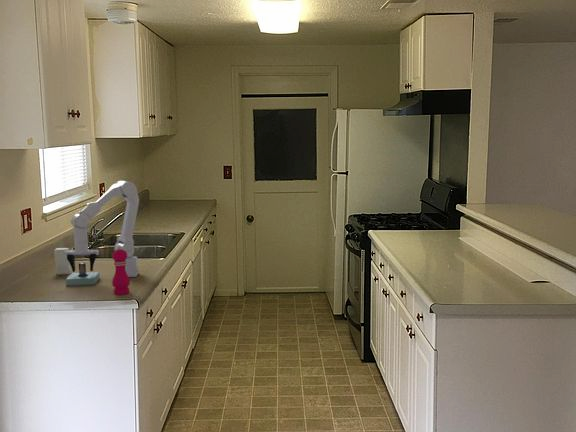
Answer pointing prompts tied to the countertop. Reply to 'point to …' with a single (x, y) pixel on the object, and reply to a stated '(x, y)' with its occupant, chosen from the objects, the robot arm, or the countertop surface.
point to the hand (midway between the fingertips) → (82, 271)
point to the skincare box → (62, 261)
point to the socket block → (82, 279)
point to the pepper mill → (120, 272)
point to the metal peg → (82, 269)
